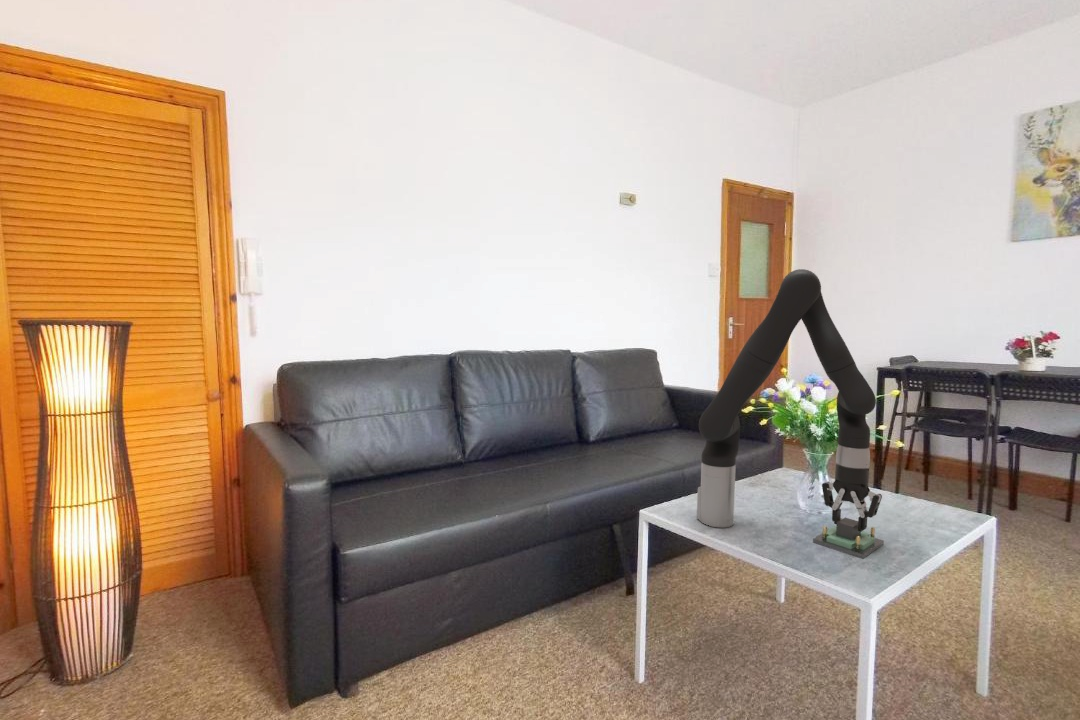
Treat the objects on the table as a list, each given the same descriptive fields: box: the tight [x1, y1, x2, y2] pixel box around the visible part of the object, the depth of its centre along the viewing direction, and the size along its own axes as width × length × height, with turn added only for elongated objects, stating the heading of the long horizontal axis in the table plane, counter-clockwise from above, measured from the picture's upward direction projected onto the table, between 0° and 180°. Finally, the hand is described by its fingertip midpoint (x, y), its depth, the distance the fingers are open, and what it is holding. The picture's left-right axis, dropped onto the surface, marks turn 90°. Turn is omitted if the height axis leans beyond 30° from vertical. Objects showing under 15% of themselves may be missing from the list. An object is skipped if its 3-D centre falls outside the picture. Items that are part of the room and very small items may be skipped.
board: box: [821, 517, 876, 550], centre depth 142 cm, size 10×11×5 cm
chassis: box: [812, 518, 885, 559], centre depth 142 cm, size 12×13×4 cm
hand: (848, 526), depth 142 cm, fingers open, 5 cm apart
